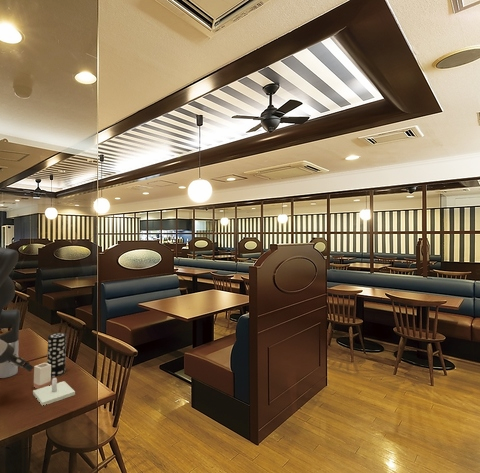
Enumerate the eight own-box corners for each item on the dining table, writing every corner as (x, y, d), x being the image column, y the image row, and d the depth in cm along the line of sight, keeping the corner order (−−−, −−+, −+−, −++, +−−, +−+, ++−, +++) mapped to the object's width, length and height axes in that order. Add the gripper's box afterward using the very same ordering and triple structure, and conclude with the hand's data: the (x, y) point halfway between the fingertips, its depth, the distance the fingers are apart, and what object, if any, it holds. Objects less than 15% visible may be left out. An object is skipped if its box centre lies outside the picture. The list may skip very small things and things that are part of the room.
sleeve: (33, 387, 143) (34, 366, 143) (44, 382, 148) (45, 362, 148) (39, 389, 141) (40, 368, 141) (50, 385, 145) (51, 364, 145)
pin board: (32, 393, 137) (33, 377, 137) (64, 384, 147) (64, 368, 147) (42, 406, 128) (42, 388, 128) (74, 394, 138) (75, 378, 138)
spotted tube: (44, 377, 152) (45, 338, 152) (49, 370, 160) (51, 333, 160) (62, 376, 155) (63, 337, 155) (67, 369, 163) (68, 332, 163)
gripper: (14, 345, 127) (41, 362, 137) (-4, 339, 133) (24, 356, 143) (-1, 362, 122) (28, 379, 132) (-19, 355, 128) (11, 371, 138)
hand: (26, 367), depth 138 cm, fingers open, 8 cm apart
